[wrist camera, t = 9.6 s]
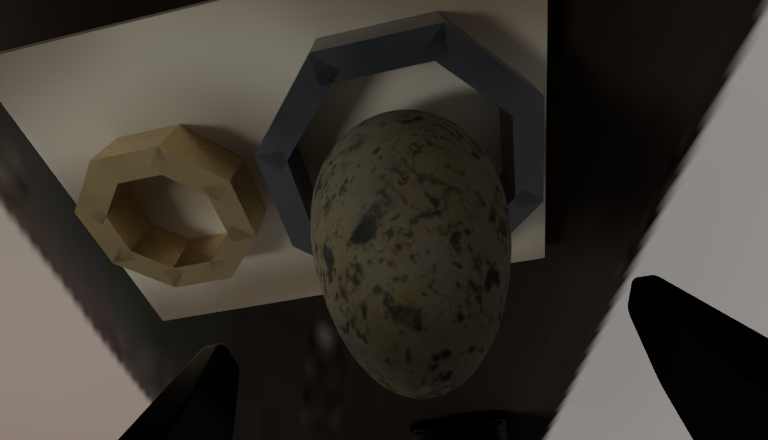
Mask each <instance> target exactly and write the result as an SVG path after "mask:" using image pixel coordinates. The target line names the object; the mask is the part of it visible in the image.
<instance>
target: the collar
mask: <svg viewBox="0 0 768 440" xmlns="http://www.w3.org/2000/svg"><path fill="white" fill-rule="evenodd" d="M432 61H435V62H437V63H438V64H440V65H441V66H443V67H444V68H445V69H447V70H448V71H450V72H451V73H452V74H454V75H455V76H457V77H458V78H460V79H461V80H462V81H464V82H465V83H467V84H468V85H469V86H471V87H472V88H474V89H475V90H477V91H478V92H479V93H481V94H482V95H484V96H485V97H486V98H488V99H489V100H491V101H492V102H494V103H495V104H496V105H498V106H499V116H500V134H501V153H502V171H503V172H502V173H501V174H500V176H499V178H500V181H501V184H502V187H503V190H504V193H505V197H506V201H507V205H508V211H509V218H510V225H511V233H512V232H513V231H514V230H515V229H516V228H517V227H518V226H519V225H520V224H521V223H522V222H523V221H524V220H525V219H526V218H527V217H528V216H529V215H530V214H531V213H532V212H533V211H534V210H535V209H536V208H537V207H538V206H539V205H540V204H541V203H542V202H543V187H544V96H543V95H542V94H541V93H540V92H539V91H538V90H537V89H536V88H535V87H534V86H533V85H532V84H531V83H530V82H529V81H528V80H527V79H526V78H525V77H523V76H522V75H521V74H519V73H518V72H517V71H515V70H514V69H513V68H511V67H510V66H509V65H507V64H506V63H505V62H503V61H502V60H501V59H499V58H498V57H497V56H495V55H494V54H493V53H491V52H490V51H489V50H488V49H486V48H485V47H484V46H482V45H481V44H480V43H478V42H477V41H476V40H474V39H473V38H472V37H470V36H469V35H468V34H466V33H465V32H464V31H462V30H461V29H460V28H458V27H457V26H456V25H454V24H453V23H452V22H450V21H449V20H448V19H446V18H445V17H444V16H442V15H441V14H440V13H438V12H437V11H433V12H429V13H424V14H420V15H416V16H411V17H407V18H403V19H398V20H394V21H390V22H385V23H381V24H377V25H372V26H368V27H363V28H359V29H355V30H350V31H346V32H342V33H337V34H333V35H329V36H324V37H320V38H316V40H315V42H314V44H313V46H312V48H311V50H310V52H309V54H308V55H307V57H306V59H305V61H304V63H303V65H302V67H301V69H300V70H299V72H298V74H297V76H296V78H295V80H294V82H293V84H292V86H291V87H290V89H289V91H288V93H287V95H286V97H285V99H284V101H283V103H282V104H281V106H280V108H279V110H278V112H277V114H276V116H275V118H274V119H273V121H272V123H271V125H270V127H269V129H268V131H267V133H266V134H265V136H264V138H263V140H262V142H261V144H260V146H259V148H258V150H257V152H256V154H255V155H254V156H255V159H256V161H257V163H258V166H259V168H260V170H261V173H262V175H263V177H264V180H265V182H266V185H267V187H268V189H269V192H270V194H271V196H272V199H273V201H274V203H275V206H276V208H277V211H278V213H279V215H280V218H281V220H282V222H283V225H284V227H285V229H286V232H287V234H288V236H289V239H290V241H291V244H292V246H293V247H295V248H297V249H299V250H301V251H303V252H306V253H308V254H310V255H312V256H313V251H312V244H311V228H310V219H311V206H312V198H313V192H314V189H313V187H312V184H311V181H310V178H309V175H308V172H307V170H306V167H305V164H304V161H303V158H302V155H301V153H300V150H299V147H298V144H297V143H298V141H299V140H300V138H301V136H302V134H303V133H304V131H305V129H306V128H307V126H308V124H309V122H310V121H311V119H312V117H313V115H314V114H315V112H316V110H317V109H318V107H319V105H320V103H321V102H322V100H323V98H324V97H325V95H326V93H327V91H328V90H329V88H330V86H331V85H332V83H335V82H340V81H344V80H349V79H354V78H358V77H363V76H367V75H372V74H377V73H381V72H386V71H390V70H395V69H400V68H404V67H409V66H413V65H418V64H423V63H427V62H432Z"/></svg>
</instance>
